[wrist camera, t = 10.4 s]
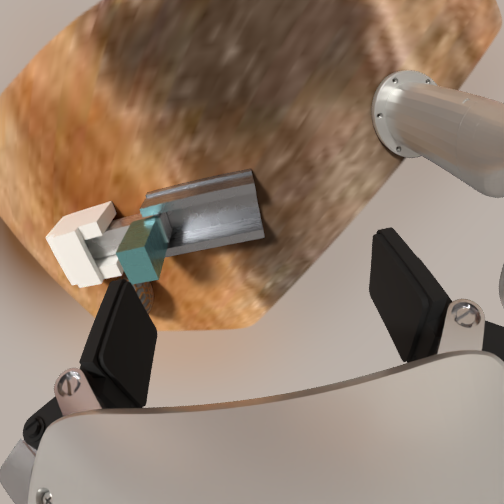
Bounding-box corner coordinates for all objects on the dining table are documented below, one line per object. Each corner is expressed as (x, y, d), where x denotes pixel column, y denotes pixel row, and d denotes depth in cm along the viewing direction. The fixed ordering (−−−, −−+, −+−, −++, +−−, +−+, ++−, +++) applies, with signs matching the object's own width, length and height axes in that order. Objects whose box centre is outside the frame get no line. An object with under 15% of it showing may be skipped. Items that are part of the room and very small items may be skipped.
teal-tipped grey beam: (163, 204, 38) (146, 246, 29) (173, 233, 40) (160, 279, 32) (77, 227, 38) (48, 269, 30) (89, 252, 41) (64, 296, 32)
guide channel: (250, 168, 37) (253, 180, 34) (261, 222, 42) (265, 239, 38) (147, 192, 38) (138, 206, 34) (165, 242, 42) (159, 260, 38)
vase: (110, 267, 44) (93, 305, 37) (150, 263, 44) (137, 302, 37) (124, 300, 48) (112, 338, 41) (161, 297, 48) (153, 337, 41)
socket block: (111, 201, 38) (93, 225, 32) (132, 250, 43) (119, 280, 37) (63, 216, 38) (42, 241, 32) (85, 261, 43) (69, 289, 37)
